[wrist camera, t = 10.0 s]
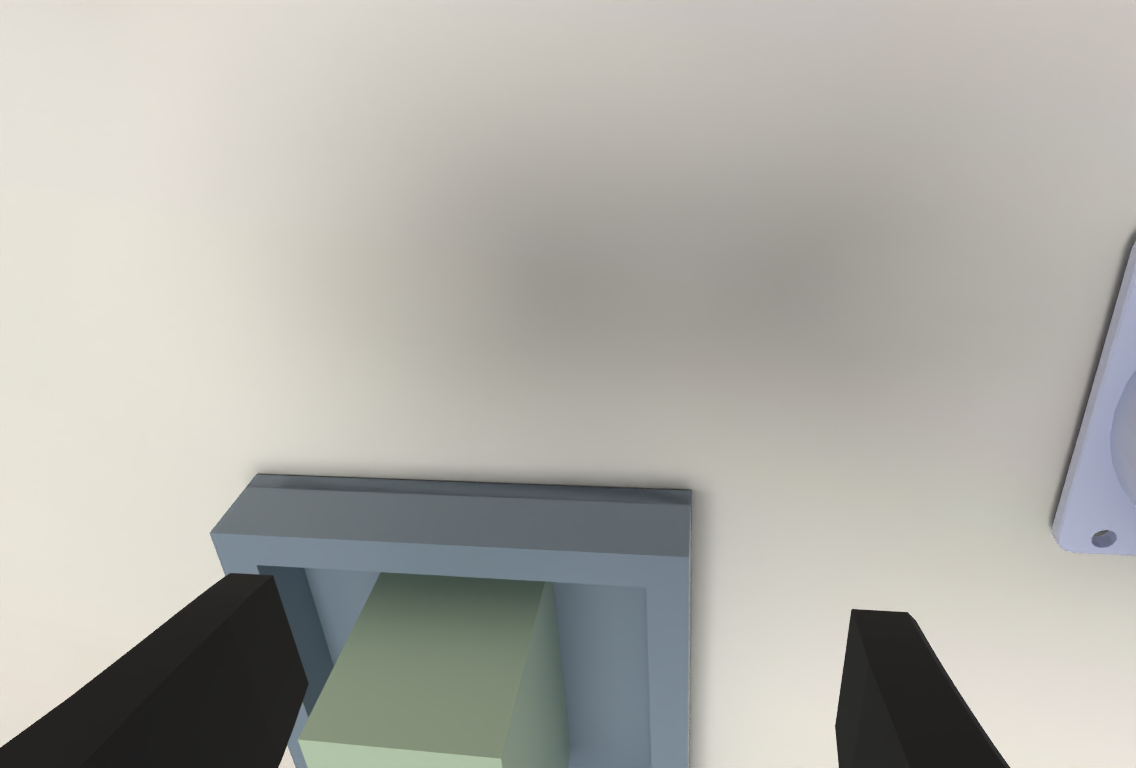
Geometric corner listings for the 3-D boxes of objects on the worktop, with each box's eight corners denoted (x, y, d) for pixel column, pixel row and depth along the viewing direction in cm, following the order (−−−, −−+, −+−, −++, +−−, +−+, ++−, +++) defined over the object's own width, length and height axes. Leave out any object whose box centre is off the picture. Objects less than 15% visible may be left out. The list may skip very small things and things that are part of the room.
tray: (691, 490, 21) (689, 557, 19) (689, 803, 27) (687, 879, 25) (256, 474, 23) (209, 533, 21) (350, 769, 29) (321, 837, 27)
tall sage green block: (550, 560, 22) (501, 758, 17) (570, 752, 26) (535, 959, 21) (390, 551, 23) (297, 739, 18) (434, 739, 27) (367, 937, 22)
